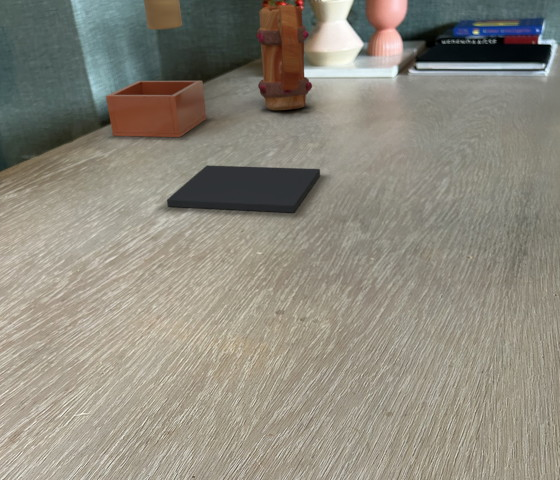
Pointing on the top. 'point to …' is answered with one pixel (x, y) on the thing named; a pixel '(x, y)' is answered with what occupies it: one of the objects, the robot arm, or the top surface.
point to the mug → (283, 57)
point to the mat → (246, 188)
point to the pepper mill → (163, 14)
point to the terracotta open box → (156, 108)
